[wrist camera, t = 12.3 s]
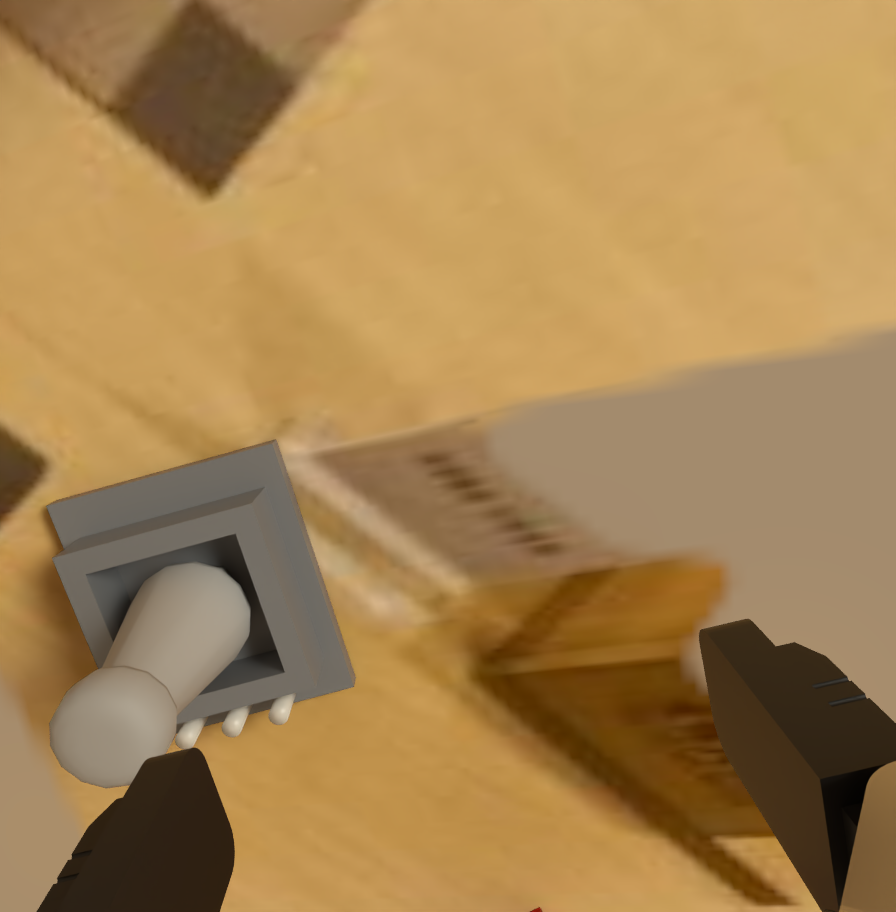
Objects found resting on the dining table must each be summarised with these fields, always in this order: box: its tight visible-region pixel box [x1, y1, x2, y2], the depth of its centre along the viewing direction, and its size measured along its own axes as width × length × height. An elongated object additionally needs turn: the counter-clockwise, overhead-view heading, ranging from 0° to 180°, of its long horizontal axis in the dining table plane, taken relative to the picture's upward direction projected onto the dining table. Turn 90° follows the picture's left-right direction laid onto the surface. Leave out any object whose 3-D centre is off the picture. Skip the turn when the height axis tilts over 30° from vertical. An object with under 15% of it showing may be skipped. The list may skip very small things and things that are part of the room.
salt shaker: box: [49, 561, 251, 788], centre depth 33 cm, size 6×6×13 cm
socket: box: [46, 440, 356, 749], centre depth 38 cm, size 14×12×4 cm
